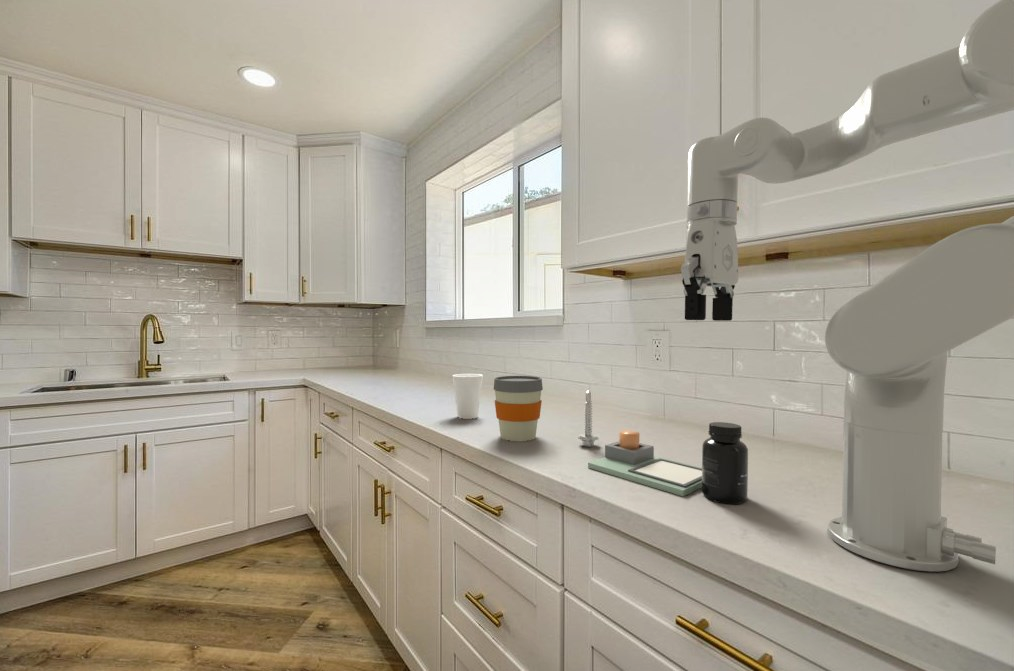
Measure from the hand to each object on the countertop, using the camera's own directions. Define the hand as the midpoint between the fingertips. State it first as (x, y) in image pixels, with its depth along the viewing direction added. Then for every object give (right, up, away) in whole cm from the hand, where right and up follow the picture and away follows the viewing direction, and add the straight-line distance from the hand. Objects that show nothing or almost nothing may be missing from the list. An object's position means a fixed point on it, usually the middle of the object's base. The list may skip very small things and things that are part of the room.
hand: (709, 320), depth 74 cm
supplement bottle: (+2, -29, -1) cm, 30 cm away
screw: (-15, -29, +31) cm, 45 cm away
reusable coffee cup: (-31, -29, +39) cm, 58 cm away
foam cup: (-46, -28, +65) cm, 84 cm away
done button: (-8, -27, +18) cm, 33 cm away
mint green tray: (-6, -29, +11) cm, 32 cm away
